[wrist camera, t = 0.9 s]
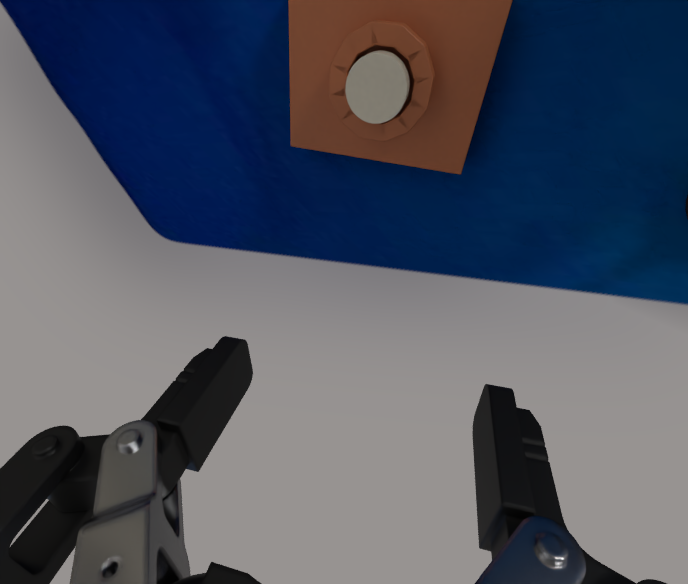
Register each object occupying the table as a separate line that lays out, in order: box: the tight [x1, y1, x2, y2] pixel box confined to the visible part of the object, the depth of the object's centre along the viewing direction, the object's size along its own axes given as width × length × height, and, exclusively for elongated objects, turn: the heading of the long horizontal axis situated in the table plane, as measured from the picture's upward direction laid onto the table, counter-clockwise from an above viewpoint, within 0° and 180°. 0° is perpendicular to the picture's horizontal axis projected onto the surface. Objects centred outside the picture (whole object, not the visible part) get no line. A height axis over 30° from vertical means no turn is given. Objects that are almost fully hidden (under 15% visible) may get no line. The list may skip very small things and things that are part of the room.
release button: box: [345, 50, 410, 124], centre depth 24 cm, size 4×4×2 cm
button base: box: [289, 0, 513, 174], centre depth 25 cm, size 14×11×4 cm
